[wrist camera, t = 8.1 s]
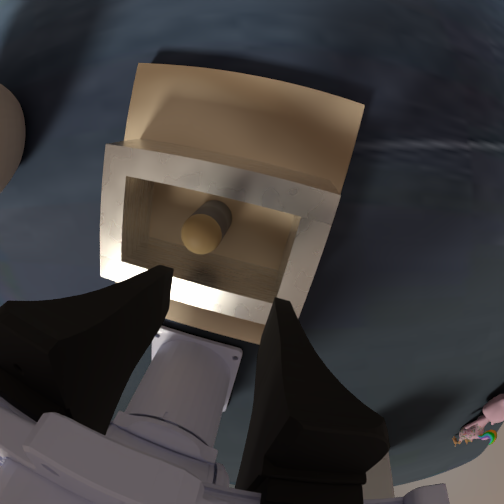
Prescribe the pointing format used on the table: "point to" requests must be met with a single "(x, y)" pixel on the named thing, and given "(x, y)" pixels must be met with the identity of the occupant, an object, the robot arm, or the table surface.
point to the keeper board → (242, 145)
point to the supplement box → (379, 481)
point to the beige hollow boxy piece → (211, 265)
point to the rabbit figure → (484, 422)
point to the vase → (10, 135)
